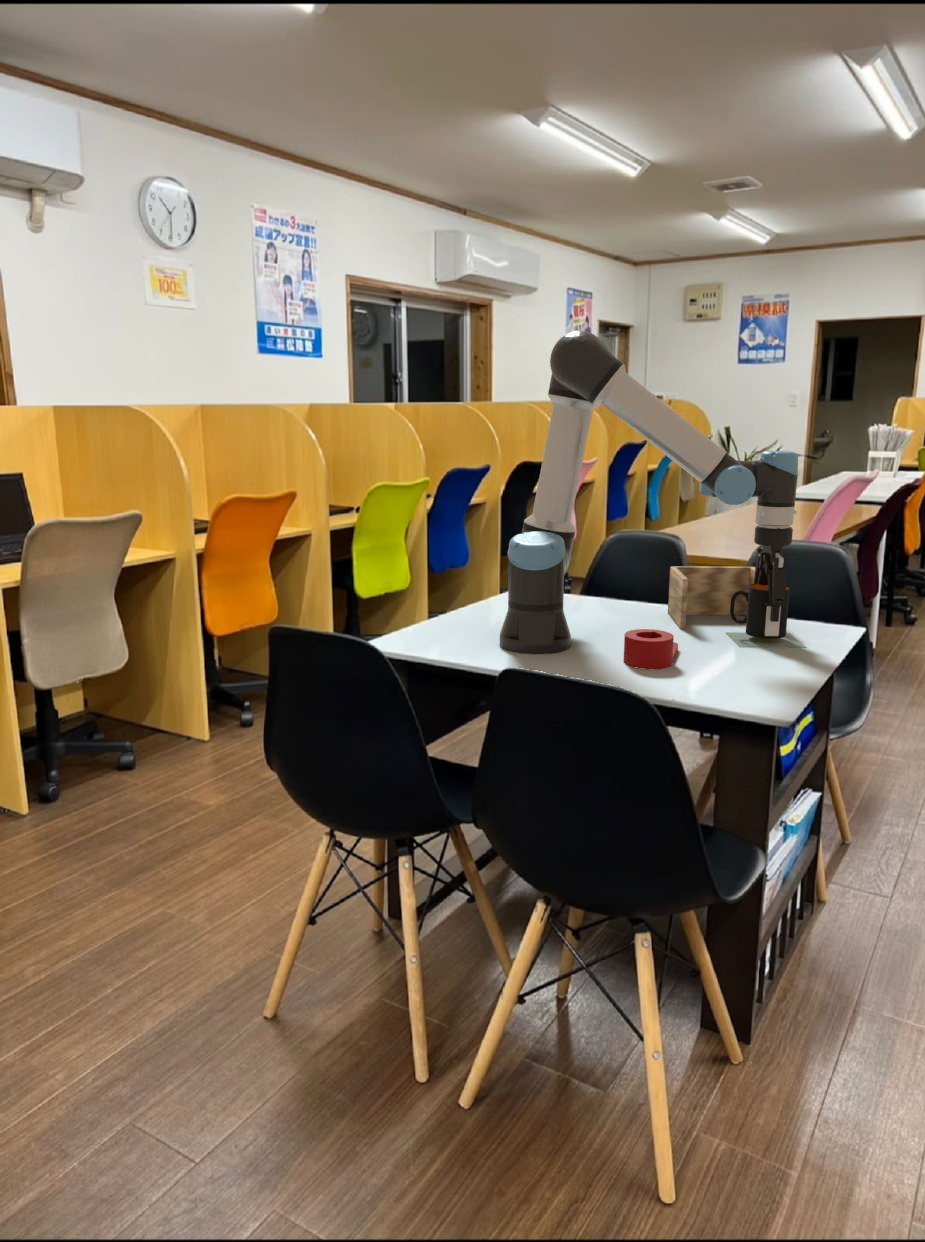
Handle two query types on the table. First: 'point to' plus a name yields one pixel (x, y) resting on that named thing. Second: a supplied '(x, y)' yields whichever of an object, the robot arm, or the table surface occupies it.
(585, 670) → the table surface
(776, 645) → the mat
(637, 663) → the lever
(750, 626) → the mug
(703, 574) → the cubby
